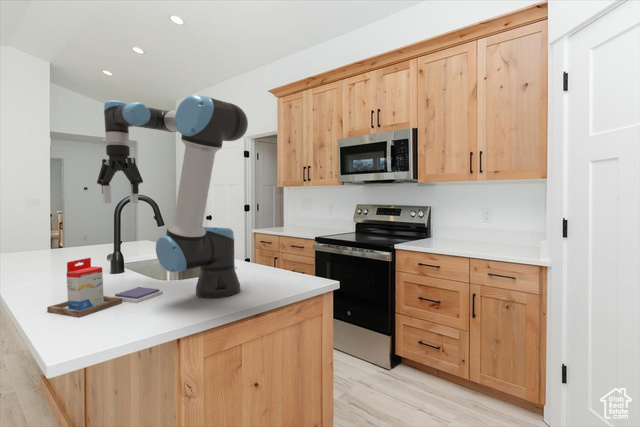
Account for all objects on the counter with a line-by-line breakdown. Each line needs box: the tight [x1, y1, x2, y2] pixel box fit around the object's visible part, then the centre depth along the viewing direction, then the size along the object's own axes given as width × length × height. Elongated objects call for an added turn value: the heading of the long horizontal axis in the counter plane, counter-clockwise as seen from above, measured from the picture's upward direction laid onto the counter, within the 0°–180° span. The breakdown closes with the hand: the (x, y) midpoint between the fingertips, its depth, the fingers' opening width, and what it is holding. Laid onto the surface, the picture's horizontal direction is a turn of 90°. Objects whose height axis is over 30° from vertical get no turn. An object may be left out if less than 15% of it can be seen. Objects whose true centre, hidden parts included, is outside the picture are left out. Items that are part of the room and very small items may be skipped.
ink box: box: [66, 257, 104, 311], centre depth 112 cm, size 8×5×15 cm, turn 164°
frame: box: [46, 295, 123, 318], centre depth 112 cm, size 14×14×2 cm
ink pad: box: [111, 286, 164, 304], centre depth 123 cm, size 11×11×2 cm
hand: (120, 203), depth 134 cm, fingers open, 13 cm apart
